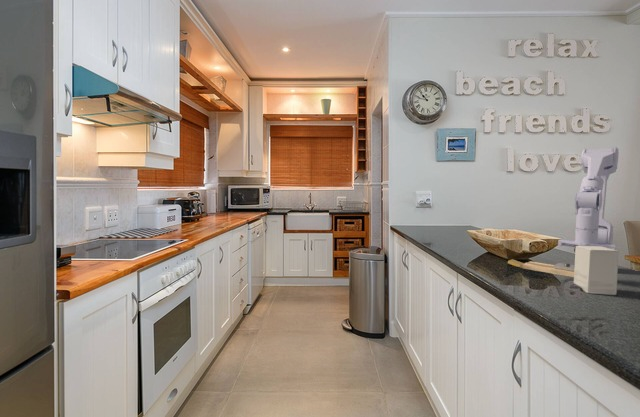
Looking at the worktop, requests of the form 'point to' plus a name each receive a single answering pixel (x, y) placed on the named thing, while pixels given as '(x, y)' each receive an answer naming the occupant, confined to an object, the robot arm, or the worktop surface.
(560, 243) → the robot arm
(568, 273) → the board
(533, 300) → the worktop surface
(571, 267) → the lever cap
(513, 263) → the lever
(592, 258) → the supplement box
